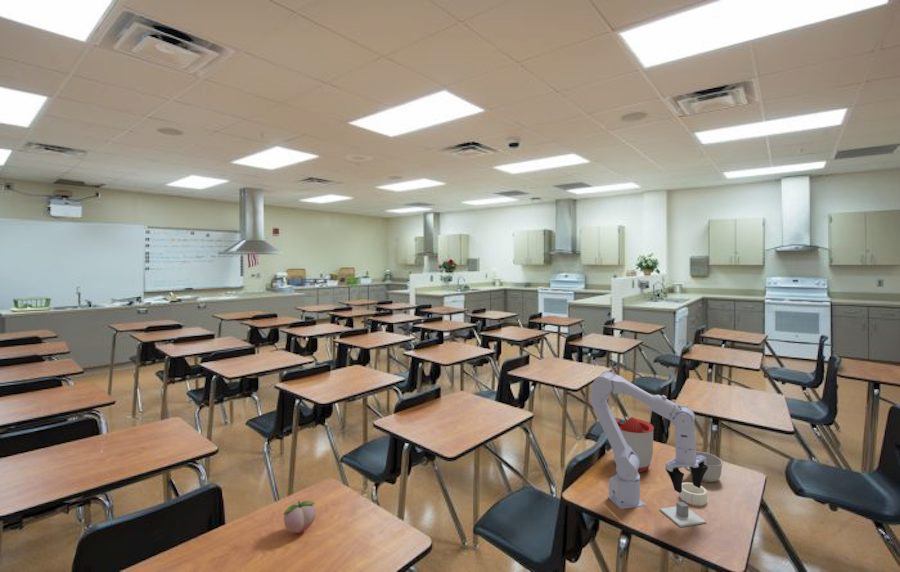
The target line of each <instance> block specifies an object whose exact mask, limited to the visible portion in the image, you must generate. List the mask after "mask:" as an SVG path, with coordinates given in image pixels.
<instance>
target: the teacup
mask: <svg viewBox="0 0 900 572" xmlns="http://www.w3.org/2000/svg"><path fill="white" fill-rule="evenodd" d="M697 455H702V456H705V457H706V461H707V463H705V464H704V465H706V466H708V469H707V471H706V472H705V474H704V476H703V479H702V482H705V483H714V482H717V481H718V480H719V479H720V478H721V475H722V468H723V461H722V459H721V458H719V457H718V456H717V455H714V454H712V453H709V452H705V451H697V450H696V456H697ZM683 468H684V469H685V470H686V471H687V472H689V474H690V475H692V473H691V469H690V467H683Z"/></svg>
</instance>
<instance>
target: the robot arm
mask: <svg viewBox="0 0 900 572" xmlns="http://www.w3.org/2000/svg"><path fill="white" fill-rule="evenodd" d="M590 389H591V392H590V400H589V401H590V404H591V407H592V408H593V411H594V413H595V415H596V417H597V419H598V421H599V423H600V424H599V425H601V428H602V429H603V432H604V434H605V436H606V438H607V440H608V444H609V445H610V448H611V449H612V453H613V452H614V454H613V460H614V461H613V462H615V471H616V474H615V475H614V476H612V477H609V480H608V495H607V498H609V500H610V501H612V502H613V504H615V506H617V507H618V508H619V509H621V510H624V509H631V508H638V507H644V506H647V505H646V503H645V502H643V501H642V500H641V475H640V472H638V468H639V467H640V464H641V462H640V458H639V457H638V456H637V455H636V454H635V453H634V452H633V450H632V448H631V447H630V446H629V445H627V443H626V441H625V439H624V437H623V434H622V432H621V430H620V428H619V426H618V424H617V422H616V420H615V419H616V418H615V415H614V413H613V411H612V409H611V407H610V405H609V403H608V399H609V397H610V395H611V393H612V391H613V395H616V394H617V395H619V394H626V395H627V396H630V397H632V398H634V399H635V400H636V399H637V400H638V401H639V402H642V403H644V404H647V405H648V407H649V410H650V411H652V412H653V413H656V414H657V415H659V416H661V417H663V418H664V419H667V420H668V421H670V422H672V423H673V425H674V447H675V448H674V451H675V458H673V459H671V460H669V461H668V462H665V464H664V465H665V467H664V468H665V471H666V472H667V474H668V476H669V478H670V479H671V483H672V487H673V489H674V491H676V492H677V493H678V494H679V493H681V492H682V483H683V479H684V476H685V473H684V472H682V471H681V469H683V468H684V467H687V468H689V467H690V469H691V473H692V474H691V473H690V474H691V478H692V479H691V483H693V485H694V486H696V487H698V488H700V486H702V482H703V481H702V479H703V476H704V474H705V472H706V471H707V469H708V466H706V465H704V464H705V463H707V461H706V457H705V456H702V455H697V456H696V451H697V449H696V447H697V446H696V444H697V443H696V432H695V429H696V428H695V419H696V416H695V412H694V411H693V410H692V409H691V408H690V407H688V406H686V405H682V404H681V403H676V402H673V401H672V400H669V399H667V396H666V395H664V394H662V395H661V394H655V395H654V394H651V393H649V392H647V391H645V390H644V389H642V388H640V387H638V386H637V385H636V384H635V383H632V382H630V381H629V380H627V379H625V378H624V377H623V376H620V375H619V374H616V373H613V372H612V371H609V370H604V371H603V372H601V374H600V375H598V377H596V378H595V379H594V380H593V382H592V384H591V386H590Z"/></svg>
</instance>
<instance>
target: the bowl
mask: <svg viewBox="0 0 900 572" xmlns="http://www.w3.org/2000/svg"><path fill="white" fill-rule="evenodd" d="M678 495H679V499H680V500H681V501H682V502H684V503H686V504H689V505H692V506H699V507H700V506H701V507H702V506H705V505H706V504H708V491H707V489H706V488H705V487H704V486H702V485H701V486H700V488H698V487H696V486H694V485H693V482H688V481H687V482H682V492H681V493H679V492H678Z"/></svg>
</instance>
